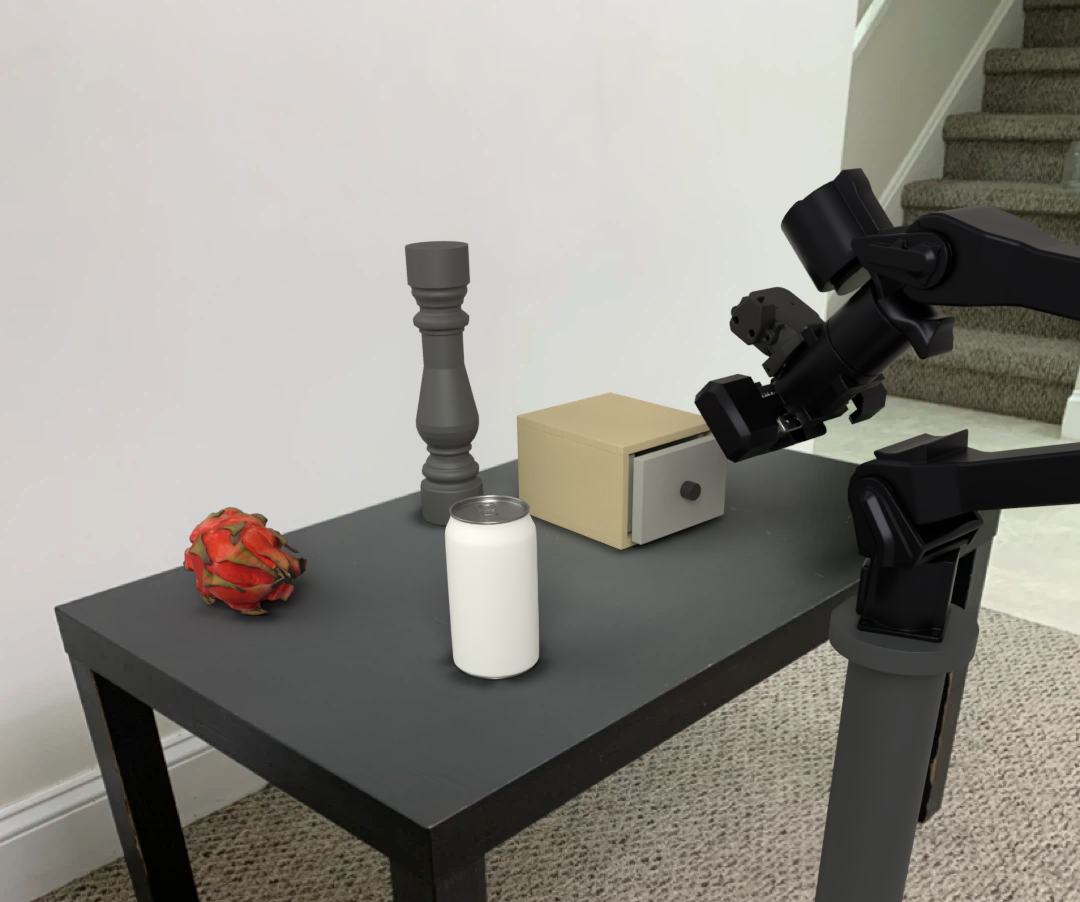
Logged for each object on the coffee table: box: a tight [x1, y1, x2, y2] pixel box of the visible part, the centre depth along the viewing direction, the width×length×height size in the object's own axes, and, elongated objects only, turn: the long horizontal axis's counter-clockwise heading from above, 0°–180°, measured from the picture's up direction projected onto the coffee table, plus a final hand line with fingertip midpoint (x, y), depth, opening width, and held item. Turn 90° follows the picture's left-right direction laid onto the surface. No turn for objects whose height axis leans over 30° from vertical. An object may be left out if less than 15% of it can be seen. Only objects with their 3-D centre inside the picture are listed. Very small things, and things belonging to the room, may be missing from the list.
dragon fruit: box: [182, 506, 308, 616], centre depth 90 cm, size 8×8×12 cm
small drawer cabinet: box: [516, 391, 712, 551], centre depth 106 cm, size 15×13×10 cm
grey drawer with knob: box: [627, 433, 728, 546], centre depth 104 cm, size 15×11×8 cm
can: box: [444, 494, 540, 681], centre depth 79 cm, size 6×6×12 cm
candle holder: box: [404, 240, 484, 526], centre depth 103 cm, size 6×6×25 cm
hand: (733, 456), depth 95 cm, fingers closed
